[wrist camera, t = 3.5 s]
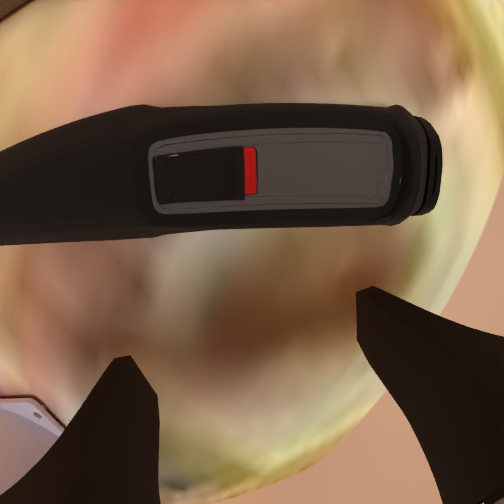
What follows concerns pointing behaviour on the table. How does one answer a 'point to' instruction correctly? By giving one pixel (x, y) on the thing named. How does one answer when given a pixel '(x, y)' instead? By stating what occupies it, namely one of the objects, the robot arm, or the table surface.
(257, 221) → the electric trimmer
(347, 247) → the table surface
